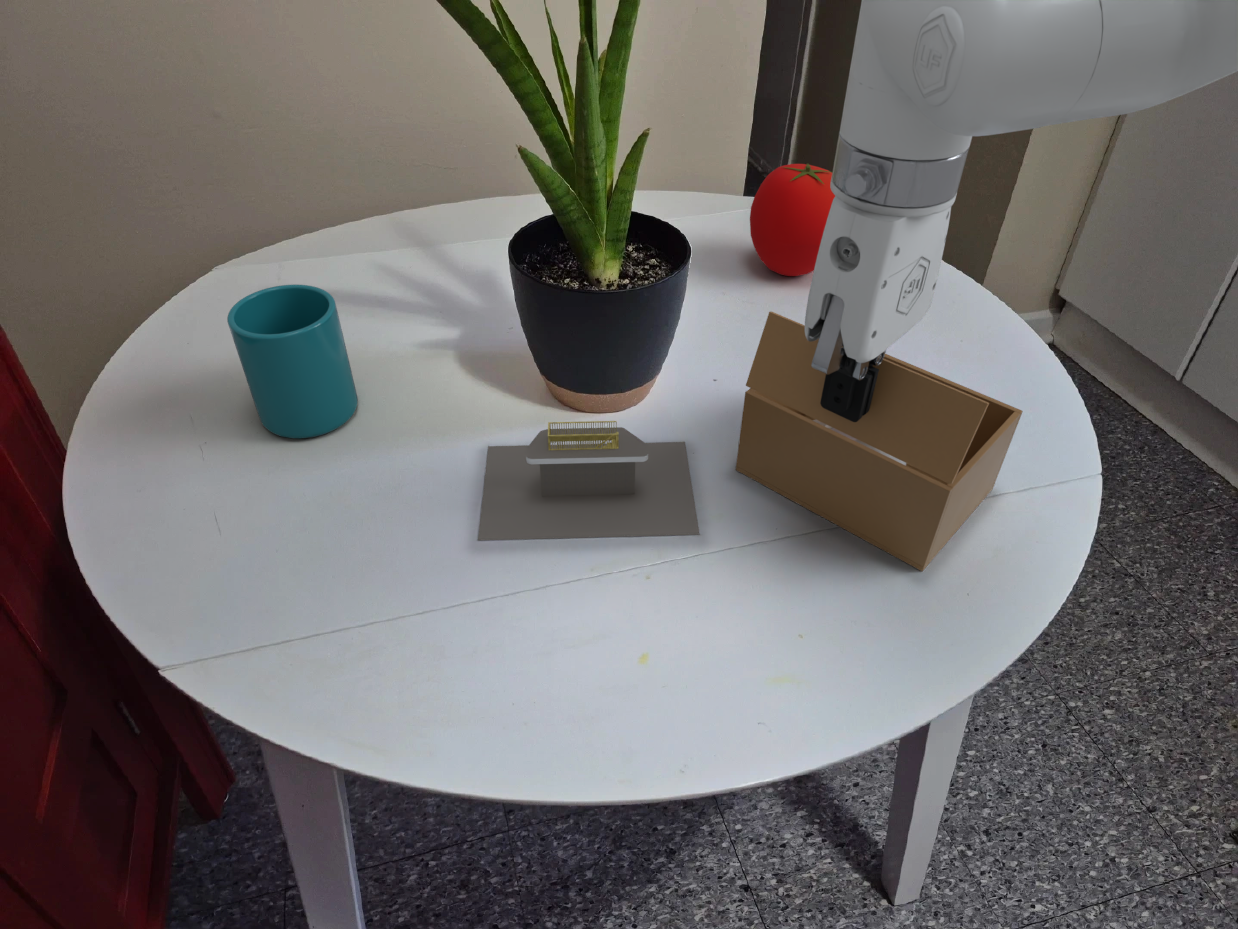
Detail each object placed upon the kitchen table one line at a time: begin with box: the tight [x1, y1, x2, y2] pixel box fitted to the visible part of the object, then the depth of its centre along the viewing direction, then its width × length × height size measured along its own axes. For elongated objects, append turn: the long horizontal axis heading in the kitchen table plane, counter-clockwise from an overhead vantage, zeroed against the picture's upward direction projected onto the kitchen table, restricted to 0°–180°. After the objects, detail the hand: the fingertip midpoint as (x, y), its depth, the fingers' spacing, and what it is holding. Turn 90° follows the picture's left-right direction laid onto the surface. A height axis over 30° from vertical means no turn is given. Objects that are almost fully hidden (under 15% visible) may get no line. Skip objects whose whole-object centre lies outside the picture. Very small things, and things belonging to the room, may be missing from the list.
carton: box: [735, 353, 1023, 572], centre depth 73 cm, size 18×13×8 cm
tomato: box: [749, 163, 835, 277], centre depth 101 cm, size 11×11×13 cm
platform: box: [477, 420, 701, 541], centre depth 73 cm, size 12×18×7 cm, turn 92°
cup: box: [227, 284, 359, 439], centre depth 80 cm, size 9×12×11 cm
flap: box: [745, 311, 989, 484], centre depth 65 cm, size 18×6×1 cm
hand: (843, 409), depth 64 cm, fingers closed
